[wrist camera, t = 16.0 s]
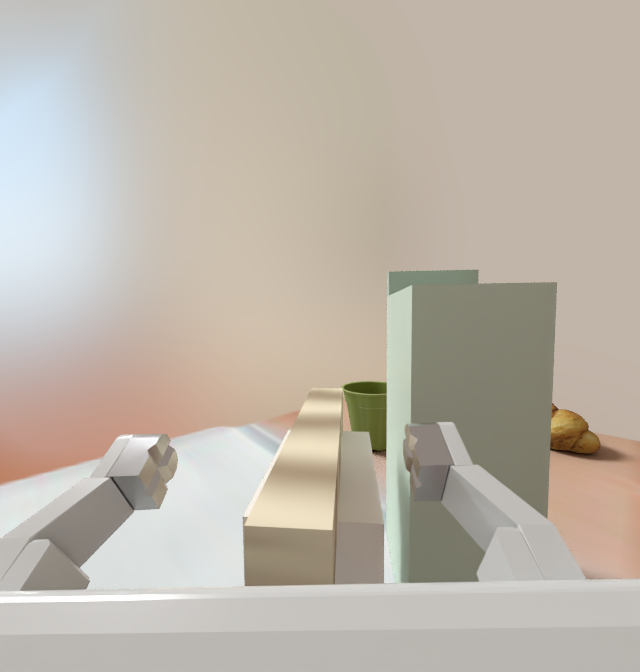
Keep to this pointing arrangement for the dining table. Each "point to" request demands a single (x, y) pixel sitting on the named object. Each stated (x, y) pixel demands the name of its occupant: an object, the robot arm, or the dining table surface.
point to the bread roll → (571, 432)
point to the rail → (300, 501)
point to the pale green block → (465, 403)
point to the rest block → (352, 513)
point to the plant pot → (368, 410)
